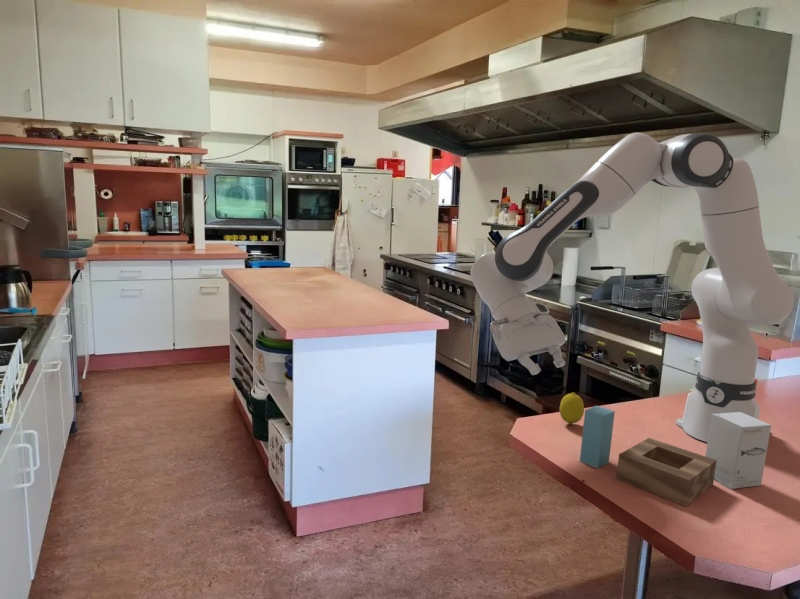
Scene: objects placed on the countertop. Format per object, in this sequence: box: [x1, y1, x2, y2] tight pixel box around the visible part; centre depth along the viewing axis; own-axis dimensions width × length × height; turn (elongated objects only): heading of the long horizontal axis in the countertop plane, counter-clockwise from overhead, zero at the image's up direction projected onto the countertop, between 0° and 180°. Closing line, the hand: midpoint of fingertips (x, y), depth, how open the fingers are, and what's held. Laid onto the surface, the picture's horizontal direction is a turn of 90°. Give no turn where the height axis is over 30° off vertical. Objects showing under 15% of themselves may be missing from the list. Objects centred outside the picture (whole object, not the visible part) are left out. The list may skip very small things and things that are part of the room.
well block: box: [615, 437, 717, 508], centre depth 110 cm, size 13×13×5 cm
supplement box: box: [704, 412, 772, 490], centre depth 112 cm, size 7×7×13 cm
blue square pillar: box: [579, 405, 615, 469], centre depth 117 cm, size 4×4×11 cm
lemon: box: [559, 392, 585, 426], centre depth 137 cm, size 6×6×8 cm
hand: (549, 369), depth 124 cm, fingers open, 8 cm apart
